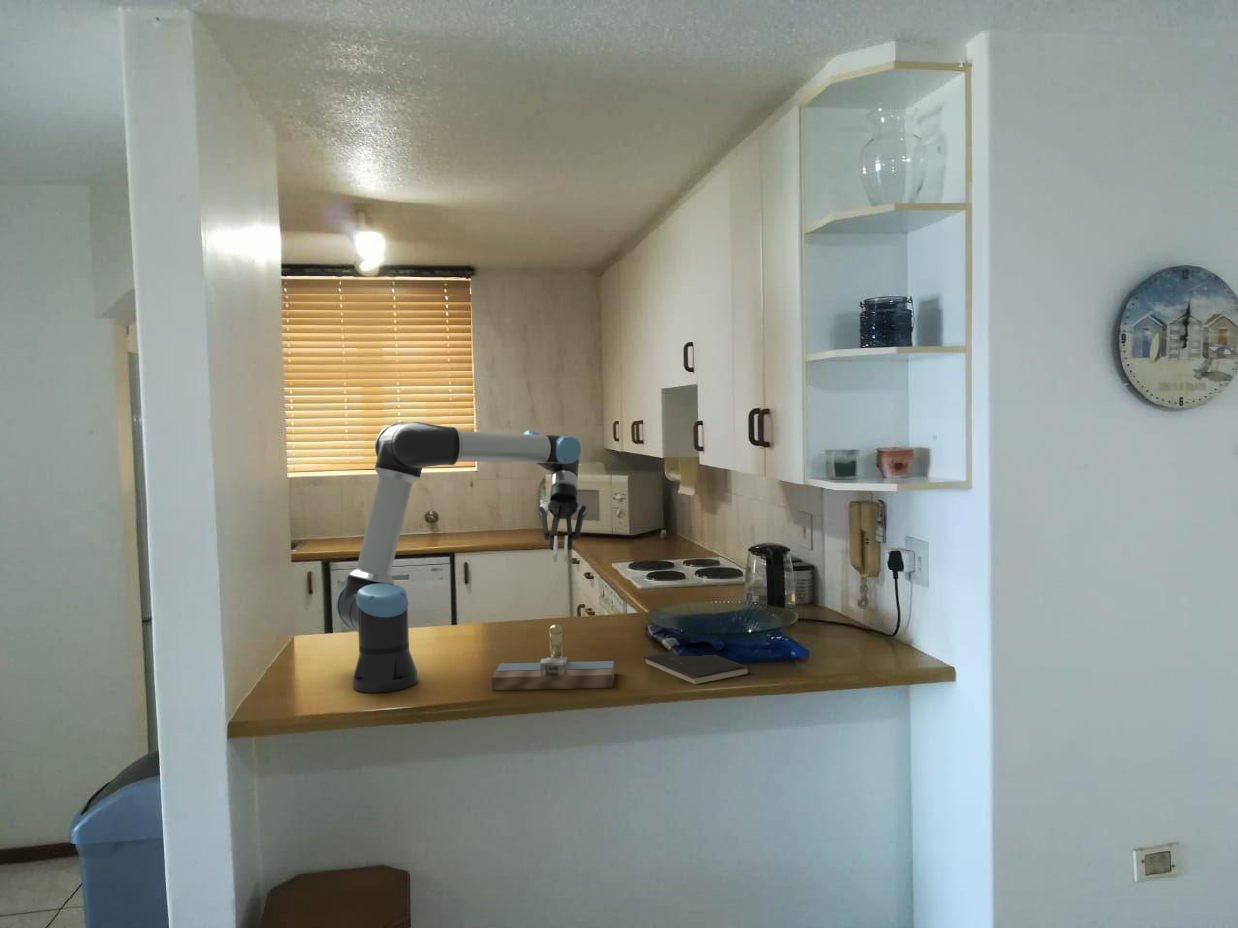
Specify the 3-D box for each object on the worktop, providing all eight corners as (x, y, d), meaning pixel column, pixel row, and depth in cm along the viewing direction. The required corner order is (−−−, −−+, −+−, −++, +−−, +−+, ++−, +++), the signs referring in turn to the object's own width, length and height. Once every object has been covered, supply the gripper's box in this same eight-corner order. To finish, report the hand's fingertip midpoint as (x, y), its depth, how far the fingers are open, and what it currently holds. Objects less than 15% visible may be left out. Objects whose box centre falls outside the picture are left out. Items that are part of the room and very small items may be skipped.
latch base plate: (496, 683, 210) (495, 665, 210) (500, 675, 217) (499, 658, 217) (613, 680, 210) (612, 663, 209) (614, 672, 216) (613, 656, 216)
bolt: (547, 667, 210) (546, 629, 210) (550, 659, 217) (549, 623, 217) (561, 667, 210) (559, 629, 210) (563, 659, 217) (562, 622, 217)
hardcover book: (693, 686, 205) (693, 677, 204) (643, 665, 225) (643, 656, 225) (749, 675, 212) (749, 666, 212) (696, 655, 232) (696, 646, 232)
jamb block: (492, 690, 205) (491, 664, 205) (495, 683, 210) (494, 658, 210) (612, 687, 204) (611, 661, 204) (613, 681, 209) (612, 656, 209)
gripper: (591, 498, 251) (590, 566, 235) (538, 500, 251) (533, 567, 235) (590, 481, 245) (588, 549, 229) (535, 482, 246) (529, 550, 230)
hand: (560, 558), depth 232 cm, fingers open, 2 cm apart
